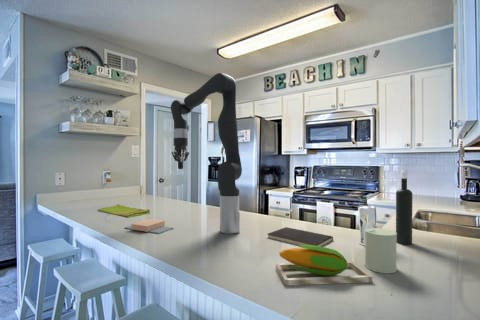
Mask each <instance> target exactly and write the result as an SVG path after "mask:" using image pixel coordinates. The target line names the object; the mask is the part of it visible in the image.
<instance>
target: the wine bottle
mask: <svg viewBox="0 0 480 320" xmlns="http://www.w3.org/2000/svg"><path fill="white" fill-rule="evenodd" d="M400 177H401V178H400V179H401V182H400V183H401V186H400V187H401V188H399V189H396V192H395V232H396V233H397V239H396V244H399V245H405V246H412V245H413V192H412V191H411V190H410V189H408V170H407V169H401V172H400Z"/></svg>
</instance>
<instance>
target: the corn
mask: <svg viewBox="0 0 480 320" xmlns="http://www.w3.org/2000/svg"><path fill="white" fill-rule="evenodd" d="M278 253H279V256H280V258H281V259H284V260H285V261H287V262H288V263H293V264H295V265H298V266H302V267H306V268H301V267H296V266H290V265H289V266H288V267H291V268H293V269H292V270H297V271H300V272H304V273H309V274H315V275H320V276H324V277H334V276H337V275H340V274H342V272H344V271H346V269H347V268H348V267H347V265H348V263H347V262H348V261H347V259H346V258H345V256H344V255H343V254H341V253H340V252H339V251H337V250H336V249H334V248H330V247H323V246H321V247H320V246H313V245H298V247H293V248H292V247H291V248H287V249H283V250H281V251H279V252H278ZM307 268H311V269H307Z"/></svg>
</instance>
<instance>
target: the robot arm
mask: <svg viewBox="0 0 480 320" xmlns="http://www.w3.org/2000/svg"><path fill="white" fill-rule="evenodd" d="M215 93H218V94H222V108H221V112H220V113H219V116H218V120H217V131H218V137H219V140H220V142H221V144H222V146H223V149H224V152H225V161H224V162H221V163H220V164H219V166H218V168H217V186H218V187H217V188H218V191H219V232H220V233H221V234H227V235H228V234H229V235H231V234H233V235H234V234H237V233H240V231H241V229H240V228H241V227H240V226H241V224H240V222H241V221H240V220H241V219H240V216H241V214H240V213H241V212H240V189H239V188H238V187H237V186H236V181H237V180H239V178H241V177H242V172H243V168H242V167H243V166H242V161H241V155H240V150H239V148H240V147H239V137H238V135H239V134H238V132H239V130H238V121H237V105H236V104H237V103H236V99H237V95H236V94H237V84H236V80H235V79H234V77H232V76H230V75H229V74H226V73H223V72H218V73H216V74H214V75H212V77H210V78H209V79H208V80H207V81H206V82H205V83H204V84H203V85H201V86H200V87H199V88H198V89H196V90H195V91H194V92H191V93H190V94H188V95H186V96H185V97H184V99H183V101H182V100H178V99H176V100H175V99H174V100H173V101H172V102H171V105H170V111H171V115H172V116H171V117H172V120H173V147H174V150H173V151H171V155H172V157H173V159H174V161H175V162H177V169H178V170H184V162H186V161H187V159H188V156H189V155H190V152H189V151H187V146H188V139H189V137H188V121H187V119H186V118H184V117H183V116H184V115H185V116H186V115H188V114H190V113H191V112H192V111H193V110H194V108H196V107H198V106H200V105H202V104H204V103H205V101H206V99H207V98H208V96H209V95H210V96H211V95H212V94H215ZM182 115H183V116H182Z"/></svg>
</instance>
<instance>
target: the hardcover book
mask: <svg viewBox="0 0 480 320" xmlns="http://www.w3.org/2000/svg"><path fill="white" fill-rule="evenodd" d="M267 238H268V239H272V240H277V241H280V242H284V243H289V244H292V245H293V244H294V245H297V246H299V245H313V246H320V247H323V246H324V245H327V244H328V243H330V242H332V241H334V237H333V235H327V234H323V233H319V232H313V231H307V230H302V229H296V228H293V227H286V226H285V227H282V228H280V229H277V230H274V231H271V232H268V233H267Z"/></svg>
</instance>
